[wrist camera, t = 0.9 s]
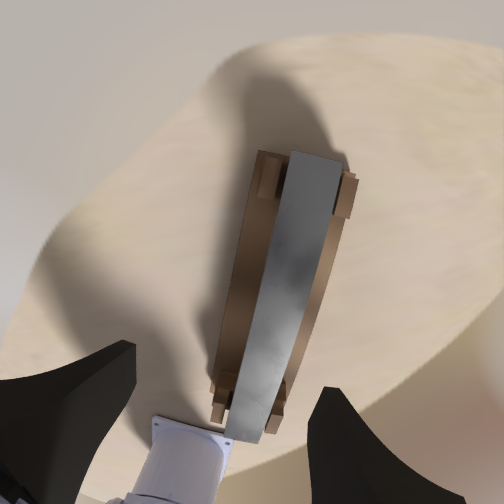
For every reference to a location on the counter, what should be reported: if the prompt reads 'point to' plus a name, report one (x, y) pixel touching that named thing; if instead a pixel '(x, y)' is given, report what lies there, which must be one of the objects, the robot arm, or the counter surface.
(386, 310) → the counter surface
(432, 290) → the counter surface
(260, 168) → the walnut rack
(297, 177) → the graphite rail
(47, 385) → the robot arm
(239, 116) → the counter surface
